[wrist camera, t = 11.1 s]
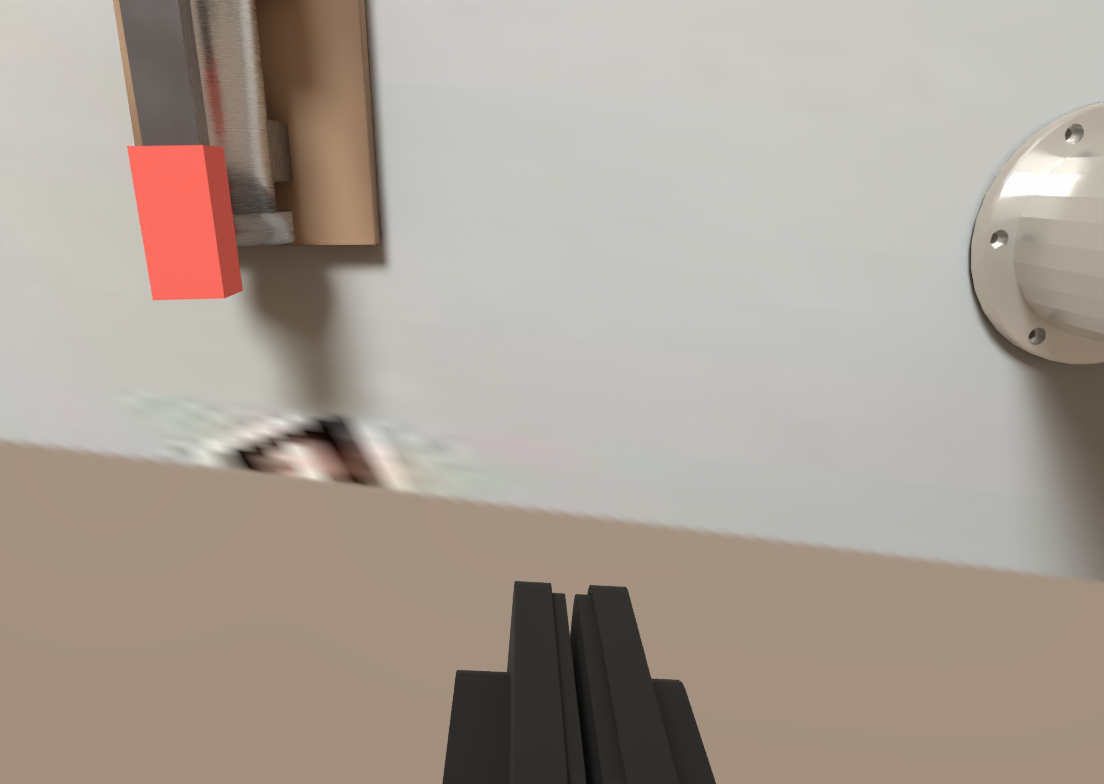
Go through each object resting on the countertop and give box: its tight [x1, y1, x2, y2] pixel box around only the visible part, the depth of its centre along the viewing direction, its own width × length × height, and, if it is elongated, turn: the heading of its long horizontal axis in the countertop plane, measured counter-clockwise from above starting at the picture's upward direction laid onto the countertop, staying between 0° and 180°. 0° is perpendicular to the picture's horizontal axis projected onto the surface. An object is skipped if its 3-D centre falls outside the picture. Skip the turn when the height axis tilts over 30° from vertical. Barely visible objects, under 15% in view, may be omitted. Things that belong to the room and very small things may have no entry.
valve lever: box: [119, 0, 243, 300], centre depth 24 cm, size 15×2×2 cm, turn 1°
